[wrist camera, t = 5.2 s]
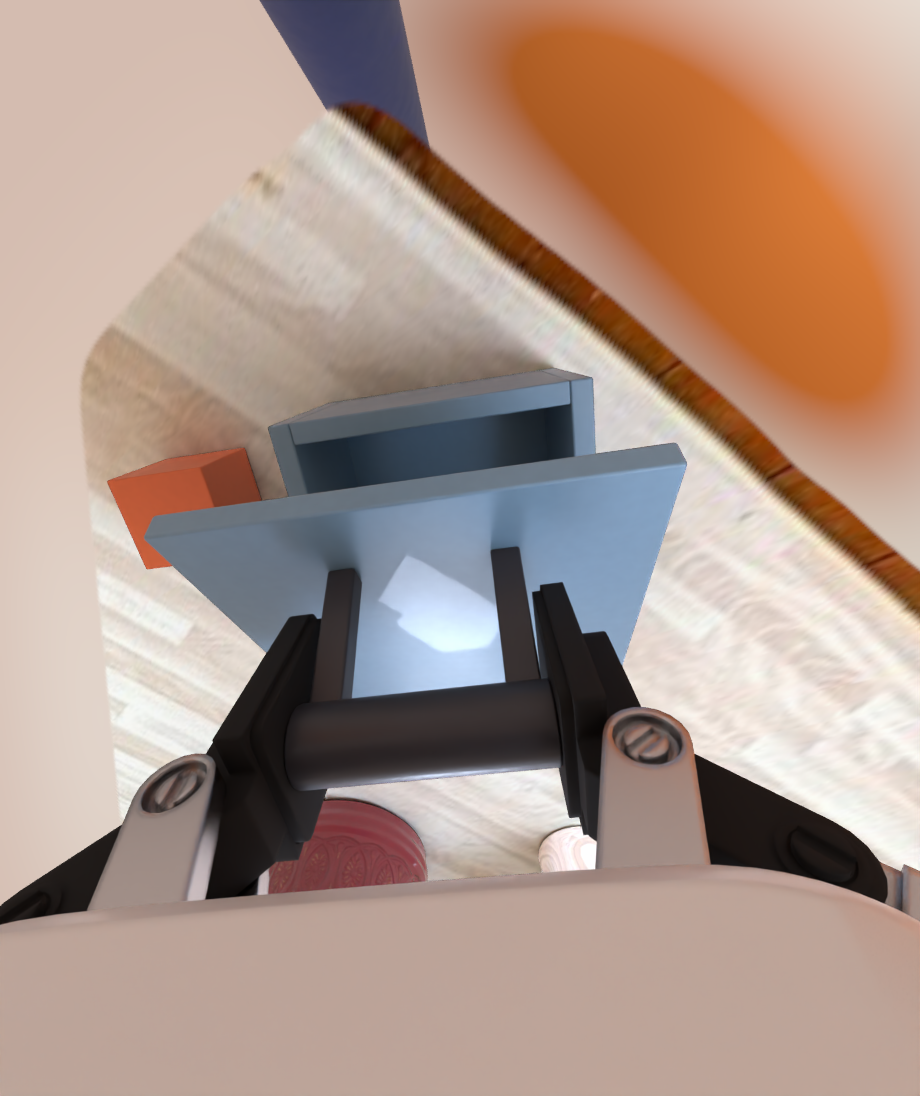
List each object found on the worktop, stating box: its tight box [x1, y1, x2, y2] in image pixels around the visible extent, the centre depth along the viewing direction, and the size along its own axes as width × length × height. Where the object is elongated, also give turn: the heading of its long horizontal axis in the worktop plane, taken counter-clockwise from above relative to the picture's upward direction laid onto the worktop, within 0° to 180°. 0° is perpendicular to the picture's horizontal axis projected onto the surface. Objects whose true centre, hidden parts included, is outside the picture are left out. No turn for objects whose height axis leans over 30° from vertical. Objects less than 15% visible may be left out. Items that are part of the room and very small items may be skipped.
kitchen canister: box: [268, 800, 428, 894], centre depth 29 cm, size 13×13×18 cm
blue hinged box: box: [268, 368, 596, 497], centre depth 23 cm, size 14×12×8 cm
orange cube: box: [107, 448, 262, 569], centre depth 24 cm, size 4×4×4 cm
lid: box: [144, 443, 687, 791], centre depth 14 cm, size 14×12×6 cm
